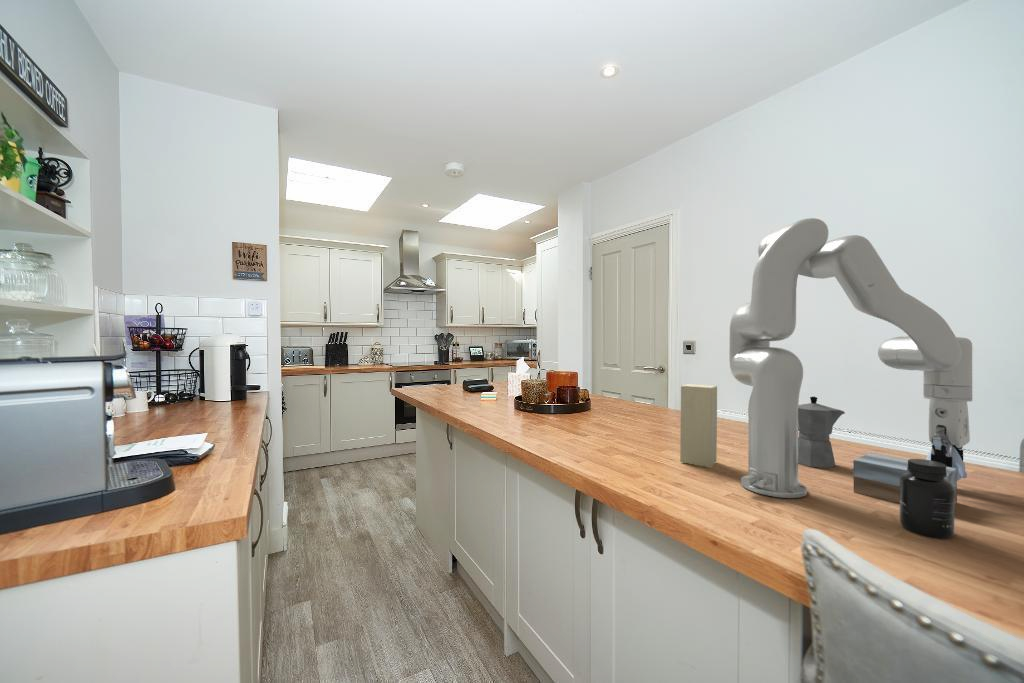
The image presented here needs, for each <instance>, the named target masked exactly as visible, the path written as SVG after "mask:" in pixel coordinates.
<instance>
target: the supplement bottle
mask: <svg viewBox="0 0 1024 683" xmlns="http://www.w3.org/2000/svg"><path fill="white" fill-rule="evenodd" d="M925 459H926V458H925ZM925 459H922V458H909V459H907V460H908V467H907V470H908V471H909V473H907V474H904V475H903V476H902V477H901V478H900V503H899V522H900V526H902V527H903V528H904V529H905V530H907V531H910V532H912V533H914V534H916V533H917V535H919V534H920V535H919V536H923V537H928V538H934V539H941V540H946V539H951V538H953V536H954V534H955V509H956V508H955V507H956V506H955V505H956V504H955V489H954V486H953V485H952V484H951V483H950V482H949V481H948V480H946V479H945V477H947V473H946V465H945V464H943V463H940V462H936V461H931V460H925Z"/></svg>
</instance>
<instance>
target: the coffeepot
mask: <svg viewBox="0 0 1024 683" xmlns="http://www.w3.org/2000/svg"><path fill="white" fill-rule="evenodd" d="M809 398H810V402H809V403H803V404H798V463H799V464H798V465H801V464H802V466H804V465H806V466H805V467H808V466H811V468H814V467H821V468H820V469H832V468H831V467H833V468H835V467H836V461H835V457H834V452H833V445H832V443H831V442H832V441H831V440H830V435H832V432H833V428H834V425H835V424H836V422H837V420H839V419H840V417H841V416H842V415H844V414H846V412H845V411H844V410H841V409H838V408H833V407H830V406H827V405H823V404H820V403H817V402H818V397H816V396H810V397H809ZM834 466H835V467H834Z"/></svg>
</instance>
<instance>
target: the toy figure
mask: <svg viewBox="0 0 1024 683" xmlns="http://www.w3.org/2000/svg"><path fill="white" fill-rule="evenodd" d="M946 449H947V447H946ZM950 457H952V468H957V482H958V481H959V480H961V479H967V478H968V473H967V471H966V465H965V463H964V460H963V461H962V459H961V457H960V455H959V453H958V452H957V450H956V449H955V448H954V447H953V446H952V449H951V455H950ZM925 460H931V450H930V451H929V453H928V455H927V456H926V458H925Z"/></svg>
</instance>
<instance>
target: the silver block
mask: <svg viewBox="0 0 1024 683" xmlns="http://www.w3.org/2000/svg"><path fill="white" fill-rule="evenodd" d="M908 460H909V459H906V458H900V457H895V456H894V457H893V456H890V455H889V456H888V455H883V454H878V453H872V452H869V453H867V454H864V455H862V456H859V457H858V458H855V459H853V493H855V492H856V494H860V495H863V496H867V497H872V498H875V497H876V499H880V500H885V501H887V502H893V503H895V504H900V478H901V477H902V476H903V475H904V474H907V473H909V471H908V470H907V467H908ZM946 473H947V477H945V479H946V480H948V481H949V482H950V483H951V484H952V485H953V486H954V489H955V505H957V503H958V481H957V468H952V467H946Z"/></svg>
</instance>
